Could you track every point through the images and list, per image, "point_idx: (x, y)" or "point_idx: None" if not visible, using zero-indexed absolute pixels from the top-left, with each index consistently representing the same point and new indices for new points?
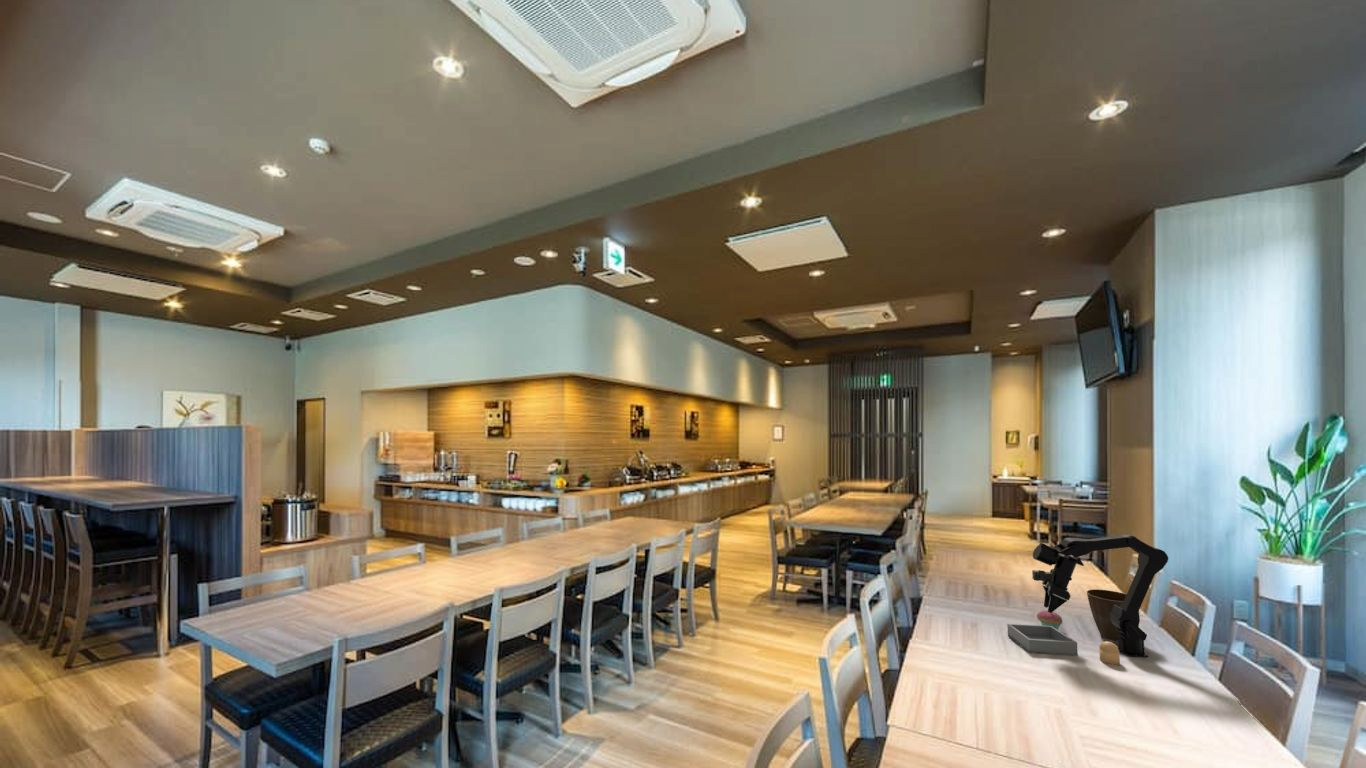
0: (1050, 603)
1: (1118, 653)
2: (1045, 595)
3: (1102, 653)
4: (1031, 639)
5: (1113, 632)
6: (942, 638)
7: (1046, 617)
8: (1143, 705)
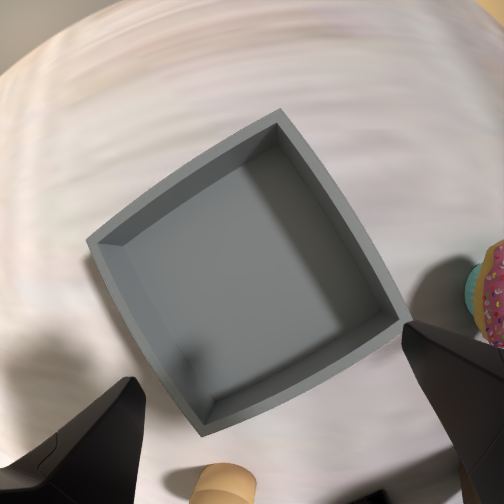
0: (61, 439)
1: None
2: (494, 375)
3: (199, 484)
4: (94, 248)
5: (464, 480)
6: (116, 25)
7: (494, 286)
8: (25, 449)
